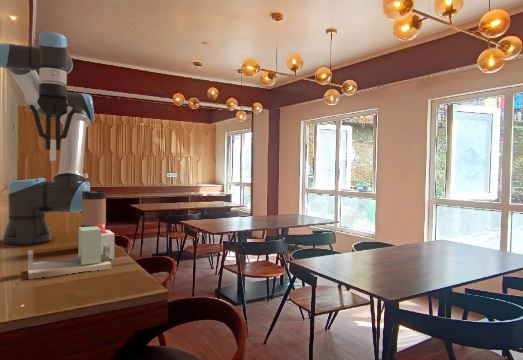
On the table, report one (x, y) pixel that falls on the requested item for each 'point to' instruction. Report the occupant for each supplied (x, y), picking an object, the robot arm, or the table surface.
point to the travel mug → (93, 208)
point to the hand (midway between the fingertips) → (52, 160)
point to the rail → (65, 265)
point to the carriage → (89, 245)
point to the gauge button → (101, 227)
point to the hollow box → (108, 242)
